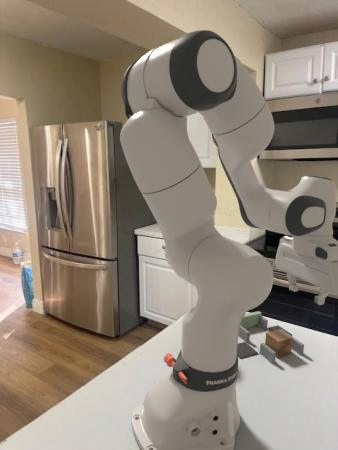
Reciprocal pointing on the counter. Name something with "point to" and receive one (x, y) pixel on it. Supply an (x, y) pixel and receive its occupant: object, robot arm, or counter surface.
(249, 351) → the mats
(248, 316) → the rail lane
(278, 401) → the counter surface
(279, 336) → the walnut block
